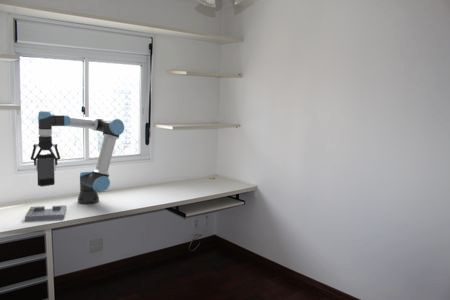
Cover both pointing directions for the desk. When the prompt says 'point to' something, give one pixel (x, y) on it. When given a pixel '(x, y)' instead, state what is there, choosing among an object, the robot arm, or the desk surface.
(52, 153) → the robot arm
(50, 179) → the electronic device
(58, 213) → the chassis
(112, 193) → the desk surface
